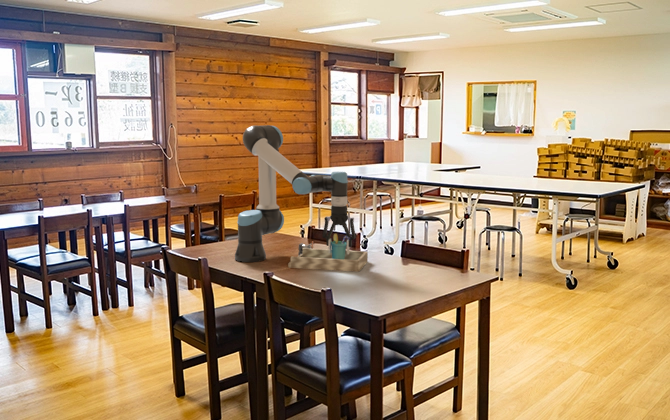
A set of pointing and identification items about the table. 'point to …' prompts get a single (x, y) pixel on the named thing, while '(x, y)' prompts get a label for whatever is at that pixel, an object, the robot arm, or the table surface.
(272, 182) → the robot arm
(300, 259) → the tray
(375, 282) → the table surface
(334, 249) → the cup
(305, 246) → the winch
